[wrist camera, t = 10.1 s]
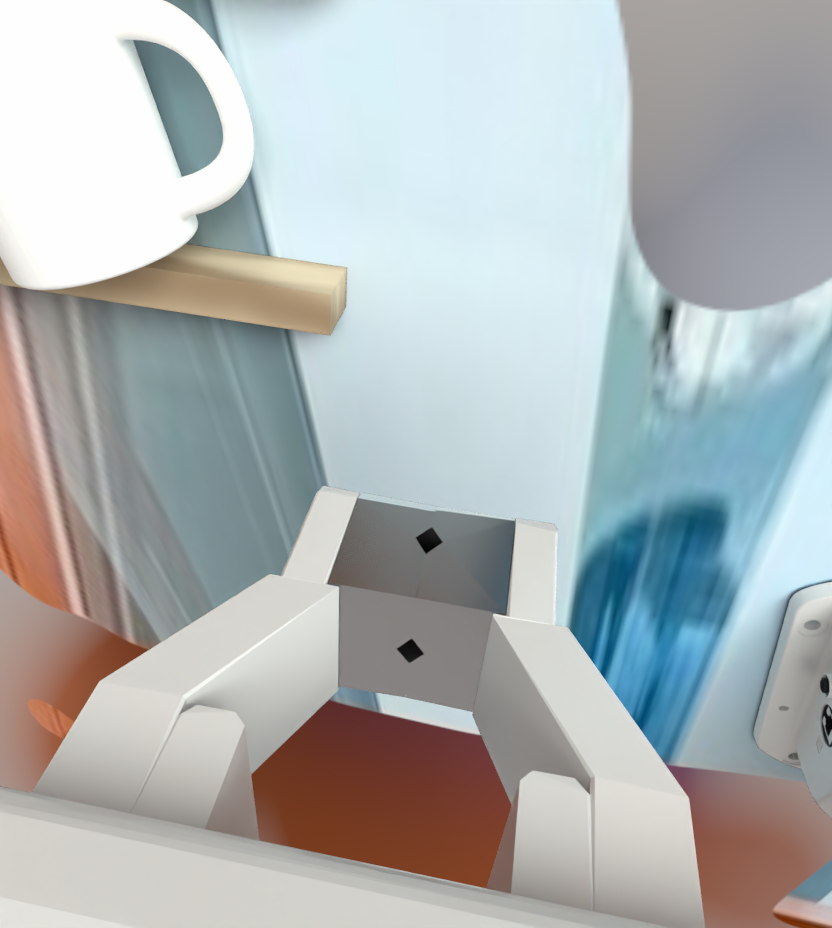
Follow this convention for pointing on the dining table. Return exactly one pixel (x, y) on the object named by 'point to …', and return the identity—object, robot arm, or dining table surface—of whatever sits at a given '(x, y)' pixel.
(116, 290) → the guide channel
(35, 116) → the mug
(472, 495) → the dining table surface
